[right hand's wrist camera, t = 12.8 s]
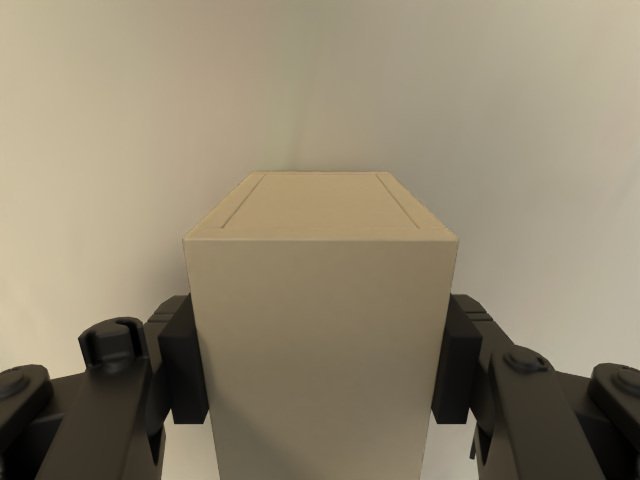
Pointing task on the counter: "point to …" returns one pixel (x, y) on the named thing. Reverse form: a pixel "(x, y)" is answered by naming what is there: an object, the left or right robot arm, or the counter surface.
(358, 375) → the cabinet
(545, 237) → the counter surface
